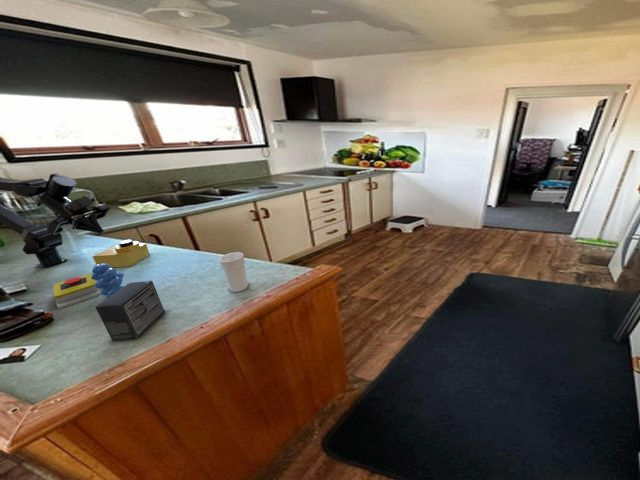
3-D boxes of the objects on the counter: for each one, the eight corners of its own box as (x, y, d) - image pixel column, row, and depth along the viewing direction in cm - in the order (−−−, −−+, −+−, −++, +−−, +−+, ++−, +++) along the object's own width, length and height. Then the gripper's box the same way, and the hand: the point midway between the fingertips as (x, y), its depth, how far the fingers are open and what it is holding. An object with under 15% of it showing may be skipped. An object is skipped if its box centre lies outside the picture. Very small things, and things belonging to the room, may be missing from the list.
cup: (254, 283, 89) (248, 253, 85) (238, 294, 83) (230, 263, 79) (239, 280, 91) (232, 251, 87) (222, 291, 85) (213, 260, 82)
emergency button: (91, 268, 94) (95, 282, 85) (96, 279, 95) (101, 294, 86) (50, 279, 87) (50, 296, 78) (56, 291, 89) (57, 309, 80)
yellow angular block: (97, 268, 103) (90, 252, 101) (119, 256, 112) (113, 241, 110) (132, 266, 104) (125, 249, 102) (151, 254, 113) (145, 239, 111)
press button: (117, 248, 104) (115, 244, 104) (125, 244, 108) (124, 240, 107) (128, 247, 104) (126, 243, 104) (136, 243, 108) (134, 239, 108)
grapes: (142, 292, 86) (129, 259, 82) (117, 305, 80) (101, 269, 76) (119, 286, 90) (105, 254, 86) (93, 298, 84) (77, 264, 80)
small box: (142, 313, 76) (128, 281, 73) (166, 311, 77) (154, 279, 73) (109, 341, 66) (92, 306, 63) (137, 339, 67) (122, 303, 63)
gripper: (38, 197, 89) (84, 228, 93) (95, 184, 107) (132, 210, 111) (27, 219, 93) (73, 248, 96) (84, 203, 110) (121, 228, 114)
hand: (102, 232), depth 104 cm, fingers closed
